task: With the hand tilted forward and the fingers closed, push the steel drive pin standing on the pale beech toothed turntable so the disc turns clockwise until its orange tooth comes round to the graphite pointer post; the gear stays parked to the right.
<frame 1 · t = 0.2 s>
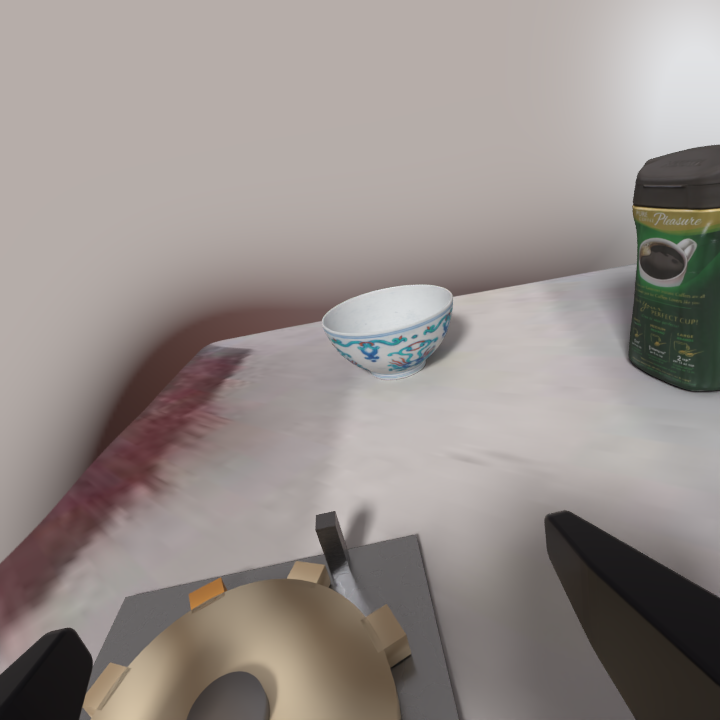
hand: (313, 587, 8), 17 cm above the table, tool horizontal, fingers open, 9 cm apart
turntable: (207, 684, 19), point 5 cm above the table, hinge at 0.0°
chinaware: (398, 368, 54), on the table
coffee jar: (690, 370, 40), on the table
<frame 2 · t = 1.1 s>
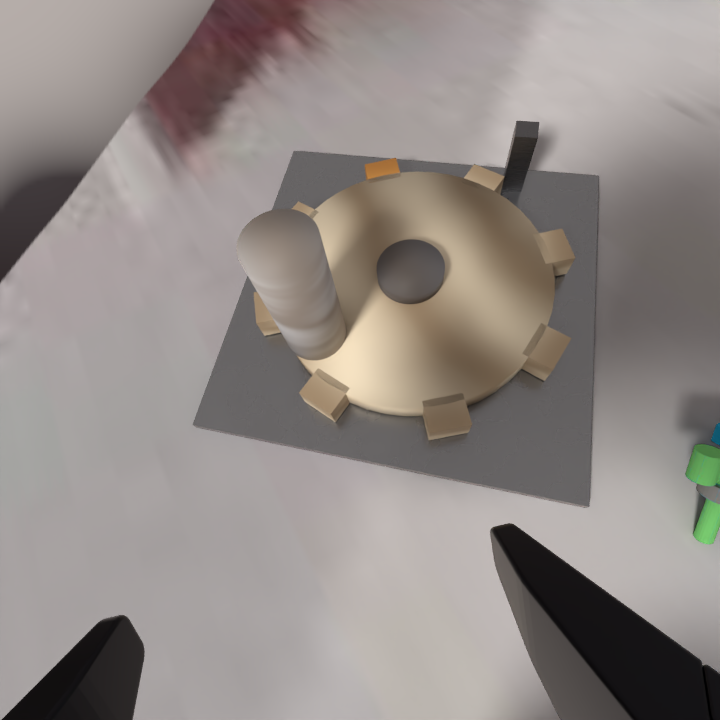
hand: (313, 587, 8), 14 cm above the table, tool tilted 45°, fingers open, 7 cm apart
turntable: (410, 240, 22), point 5 cm above the table, hinge at 0.0°
bearing plate: (410, 295, 26), on the table
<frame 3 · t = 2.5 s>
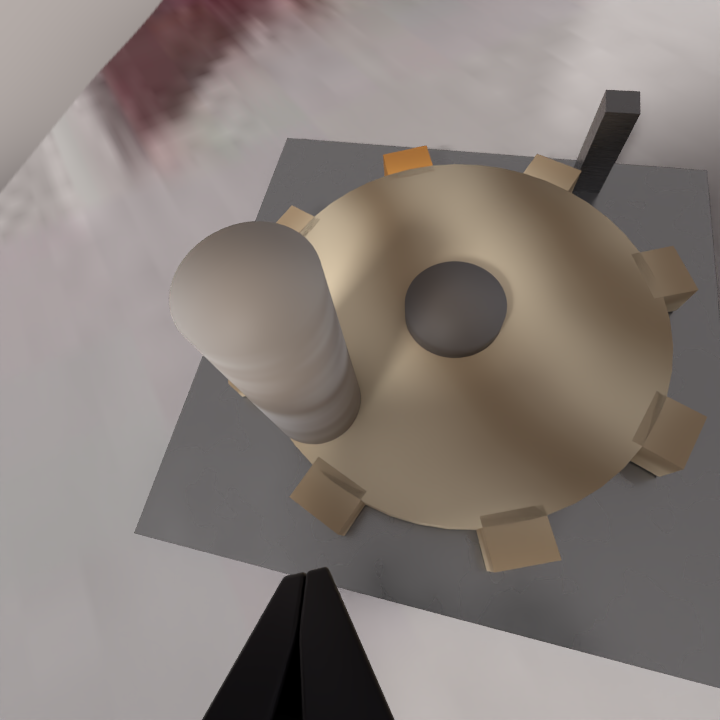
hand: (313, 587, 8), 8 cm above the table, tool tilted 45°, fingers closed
turntable: (461, 266, 14), point 5 cm above the table, hinge at 0.0°
bearing plate: (448, 338, 19), on the table
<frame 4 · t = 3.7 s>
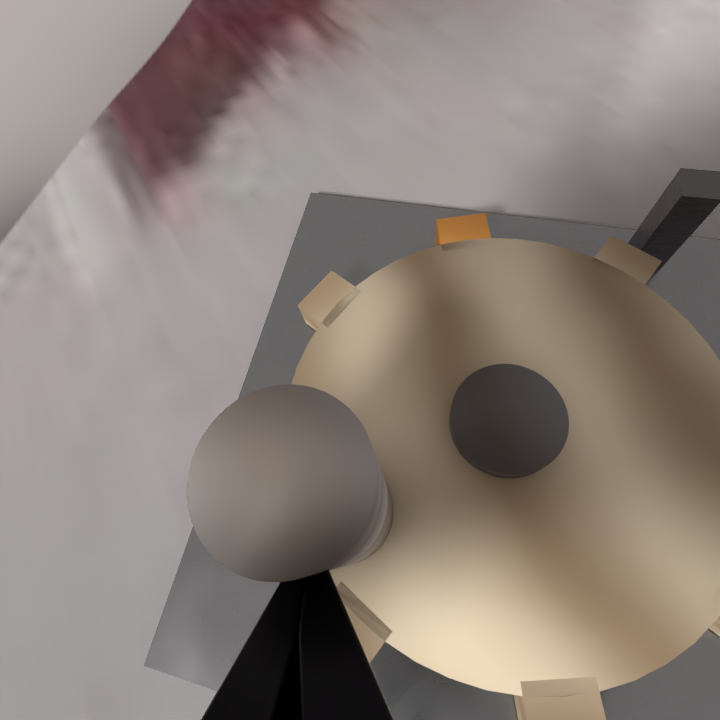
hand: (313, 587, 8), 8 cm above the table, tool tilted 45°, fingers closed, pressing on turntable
turntable: (525, 394, 12), point 5 cm above the table, hinge at 4.6°, touching gripper
bearing plate: (493, 437, 17), on the table
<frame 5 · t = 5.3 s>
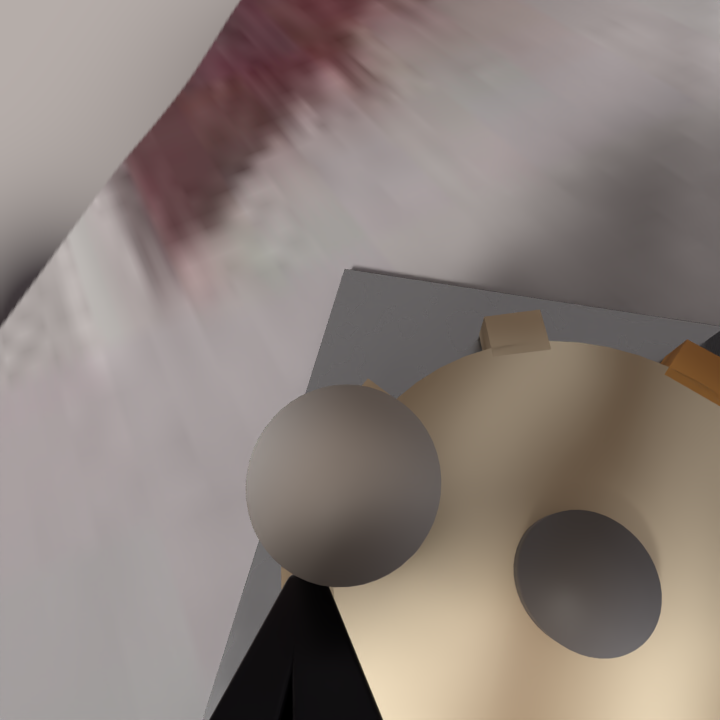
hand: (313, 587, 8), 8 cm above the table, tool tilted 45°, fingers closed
turntable: (622, 585, 10), point 5 cm above the table, hinge at 48.1°, touching gripper
bearing plate: (557, 574, 15), on the table
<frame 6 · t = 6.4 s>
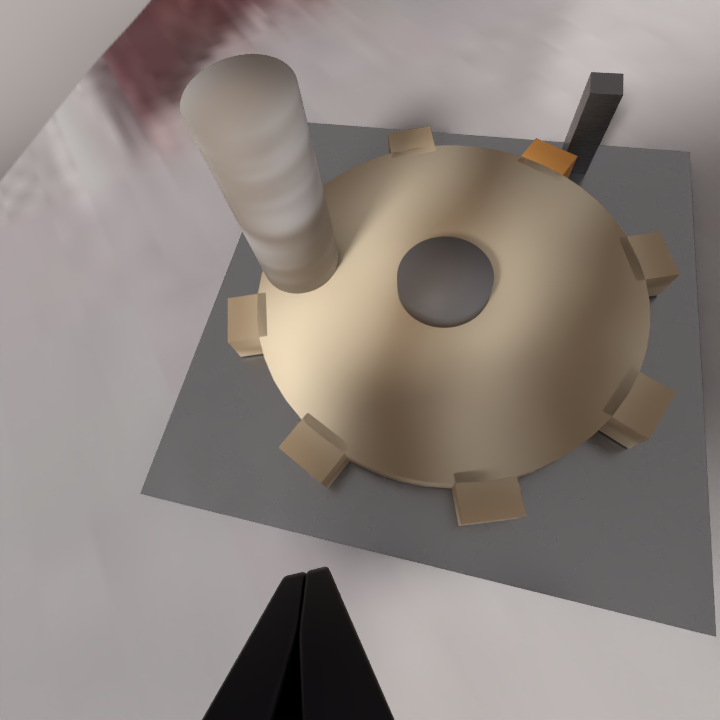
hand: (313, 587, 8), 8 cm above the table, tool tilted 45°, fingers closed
turntable: (449, 238, 15), point 5 cm above the table, hinge at 48.1°
bearing plate: (440, 312, 20), on the table
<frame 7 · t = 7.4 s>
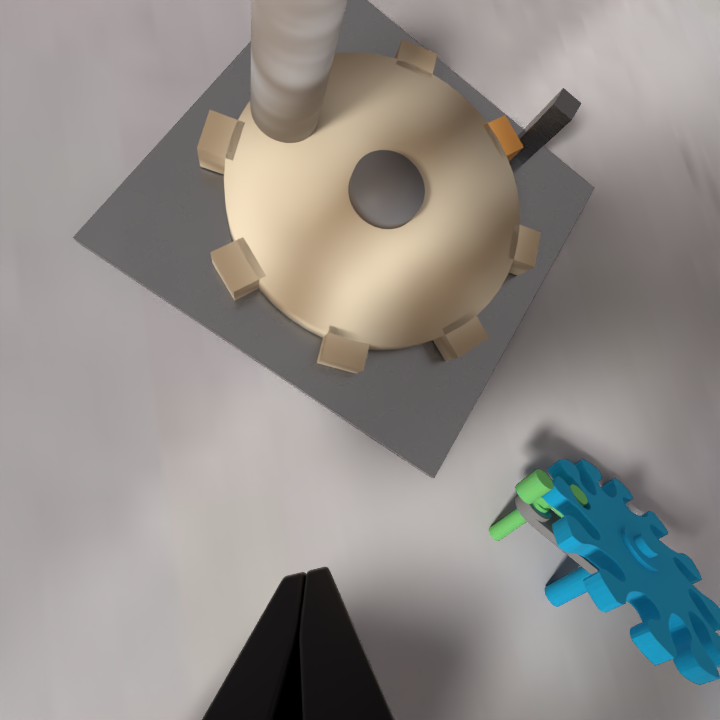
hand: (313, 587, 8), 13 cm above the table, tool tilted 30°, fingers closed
gear: (563, 527, 25), on the table
turntable: (405, 159, 19), point 5 cm above the table, hinge at 48.1°
bearing plate: (372, 213, 24), on the table
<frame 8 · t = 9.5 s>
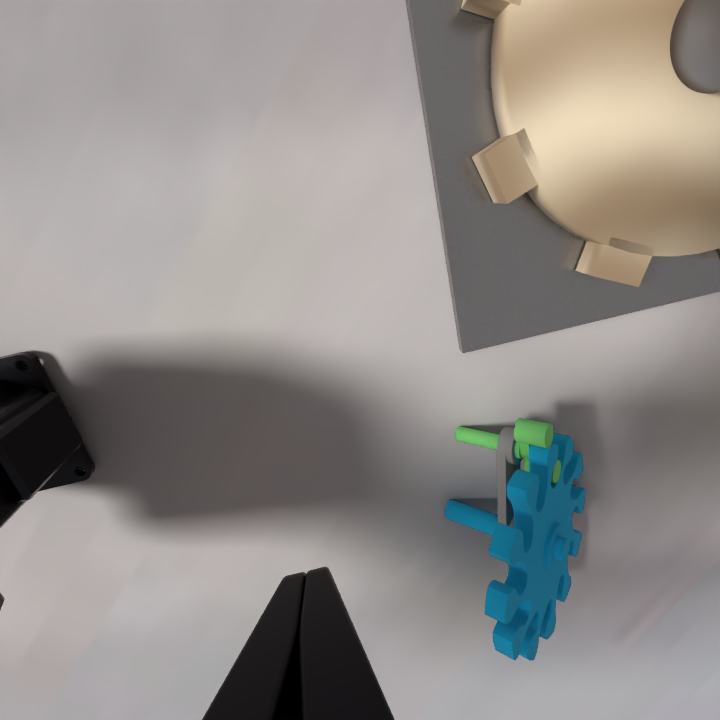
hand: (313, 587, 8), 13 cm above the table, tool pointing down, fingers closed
gear: (508, 480, 24), on the table
bearing plate: (676, 51, 17), on the table
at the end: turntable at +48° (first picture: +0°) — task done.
